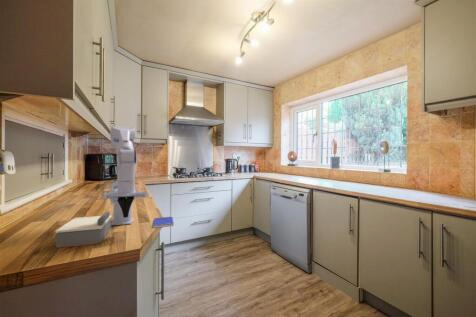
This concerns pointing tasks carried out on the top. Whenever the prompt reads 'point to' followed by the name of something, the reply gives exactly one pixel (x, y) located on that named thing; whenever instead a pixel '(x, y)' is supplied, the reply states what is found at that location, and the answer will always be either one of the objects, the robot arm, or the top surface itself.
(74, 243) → the box
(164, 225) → the hard drive
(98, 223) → the mailer lid
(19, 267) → the top surface
